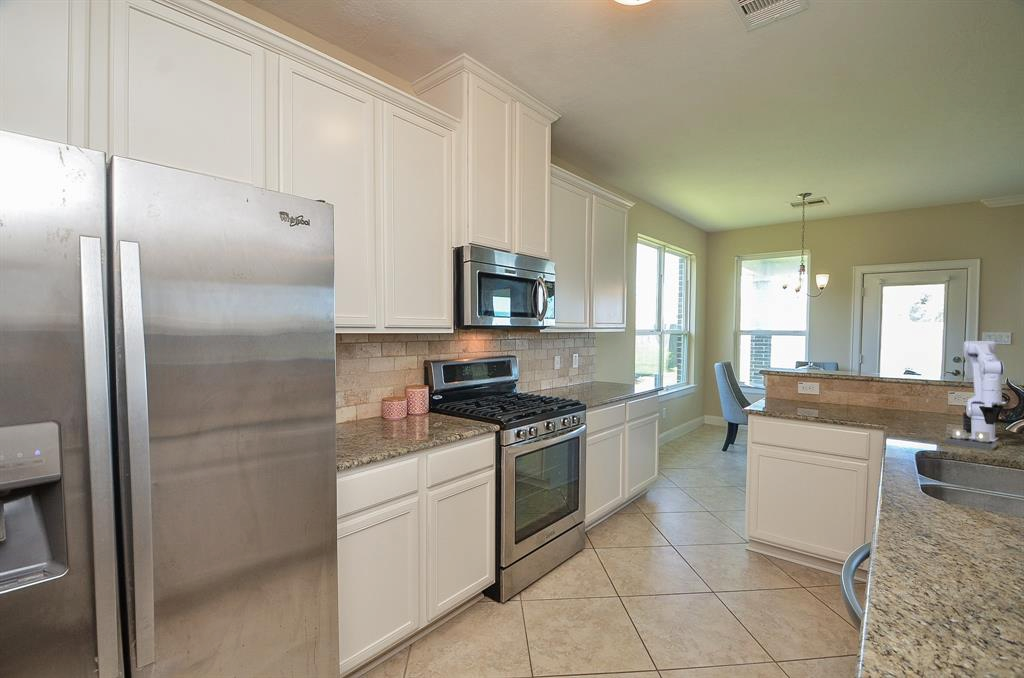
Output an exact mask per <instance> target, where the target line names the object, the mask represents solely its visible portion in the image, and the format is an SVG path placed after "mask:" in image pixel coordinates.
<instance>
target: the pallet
mask: <svg viewBox="0 0 1024 678" xmlns="http://www.w3.org/2000/svg"><path fill="white" fill-rule="evenodd" d="M945 445H950V446H955V447H956V446H957V447H963V448H972V449H979V450H985V449H986V451H993V450H995V449H996V448H997V441H990V444H987V443H980V442H975V439H971V438H969V437H966V441H964V440H956V439H953V435H952V436H949V437H946V438H945Z"/></svg>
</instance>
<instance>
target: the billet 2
mask: <svg viewBox="0 0 1024 678" xmlns="http://www.w3.org/2000/svg"><path fill="white" fill-rule="evenodd" d="M975 442H980V443H987V444H990V435H989V433H988V432H980V431H975Z"/></svg>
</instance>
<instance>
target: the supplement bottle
mask: <svg viewBox="0 0 1024 678" xmlns="http://www.w3.org/2000/svg"><path fill="white" fill-rule="evenodd" d="M964 408H965V411H964V412H963V413H962V429H963V430H966V433H968V432H969V434H971V417H969V416H967V412H966V406H965V407H964Z"/></svg>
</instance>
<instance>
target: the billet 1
mask: <svg viewBox="0 0 1024 678" xmlns="http://www.w3.org/2000/svg"><path fill="white" fill-rule="evenodd" d="M951 431H952V436H953V439H956V440H964V441H966V438H967V432H966V430H963V428H962V429H961V428H952V429H951Z"/></svg>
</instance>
